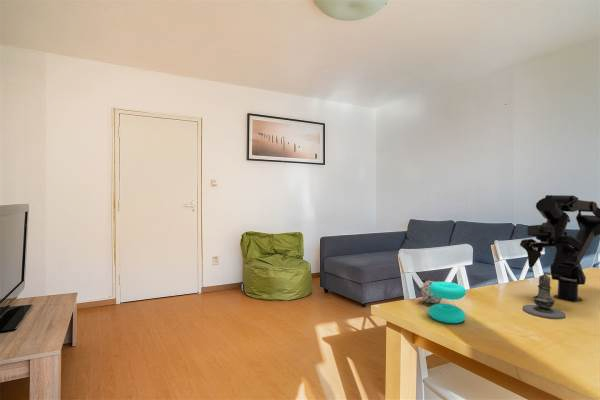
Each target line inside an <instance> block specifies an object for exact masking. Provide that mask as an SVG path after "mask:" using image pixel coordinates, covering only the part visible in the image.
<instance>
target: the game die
mask: <svg viewBox="0 0 600 400" xmlns="http://www.w3.org/2000/svg"><path fill="white" fill-rule="evenodd" d="M424 281H425V282H424V283H423V285H421V287H419V288H417V290H419V291H420V293H421V296H422V299H423V301H422V304H425V303H430V304H431V303H432V304H439V303H440V302H441V301H442V298H439V297H436V296H435V295H433V294H432V293H431V292H430V290H429V286H430V284H432V283H434V282H435V281H434V280H428V279H427V278H425V280H424ZM439 282H443V281H442V280H440V281H439Z"/></svg>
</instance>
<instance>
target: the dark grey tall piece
mask: <svg viewBox="0 0 600 400" xmlns="http://www.w3.org/2000/svg"><path fill="white" fill-rule="evenodd" d="M537 287H538V289H537V290H538V293H537V294H536V295H533V296H532V299H533V302H534V305H537V306H536V307H534V308H533V309H534V310H536V311H539V312H544V313H554V311H553V310H552V309H550V308H553V306H554V305H555V302H556V300H555V299H554V298H552V297H551V289H552V286H551V277H550V276H548V275H547V273H546V272H543V274H542V275H540V276H539V278H538V285H537Z"/></svg>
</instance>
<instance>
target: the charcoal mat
mask: <svg viewBox="0 0 600 400" xmlns="http://www.w3.org/2000/svg"><path fill="white" fill-rule="evenodd" d="M536 306H537V305H536V304H525V305H524V304H523V305H522V311H523V312H525V313H526V314H528V315H531V316H534V317H539V318H544V319H548V320H549V319H550V320H562V319H565V318H566V312H564V311H563V310H560V309H557V308H555V307H551V308H550V309H552V310H553V311H554V313H544V312H539V311H536V310H534V309H533V308H534V307H536Z"/></svg>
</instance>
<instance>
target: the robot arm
mask: <svg viewBox="0 0 600 400" xmlns="http://www.w3.org/2000/svg"><path fill="white" fill-rule="evenodd" d="M535 208H536V210H537V211H538V212H539V213H540V215H541V216H542V217H543V218H544V219H545V220H546V222H542V223H541V224H533V225H527V226H526V227H527V228H526V232H527V233H526V234H527V236H528V237H530V236H532V237H535V239H536V240H537V241H536V240H535V239H533V238H525V239H522V240H521V241H520V243H519V246H520V247H521V248H523V249H524V250H525V251H526V254H527V260H528V261H527V262H528V267H529V268H533V267H535V265H536V263H537V261H538V260H539V259H540V257H541V255H542V251H543V249H544V248H551V249H552V248H555V249H556V252H555V255H554V259H553V262H552V263H551V265H550V266H549V267H550V275H551V280H553V281H554V280H555V281H557V294H553V297H554V298H557V299H561V300H566V301H570V302H578V301H580V300H582V299H583V297H579V296H578V295H579V286H580V285H583V286H584V285H585V284H586V282H587V281H586V280H587V278H586V275H585V273H584V270H583V268H582V265H581V261H582V259H583V257H585V255H586V252H587V250H588V249H589V247H590V245H591V243H592V242H593V240H594V238H595V237H597V236H599V235H600V207H599V206H598V204H597V202H596V201H589V200H588V201H587V200H583V199H582V200H581V199H579V198H578V197H577V196H575V195H568V194H567V195H562V194H561V195H558V194H557V195H555V194H554V195H553V194H546V195H545V197H543V198H541V199H540V200H538V201H537V202H536V204H535ZM577 211H578V213H577V215H576V217H575V220H576V223H577V225H578V228H579V230H578V232H577V234H576V235H575V237H573V236H572V235H568V232H567V231H566V229H567V226H568V223H570V222H571V218H570V216H569V214H568V213H574V212H577ZM582 212H584V213H585V212H588V213H592V214H593V215H591V214H590V215H589V214H582Z"/></svg>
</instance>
